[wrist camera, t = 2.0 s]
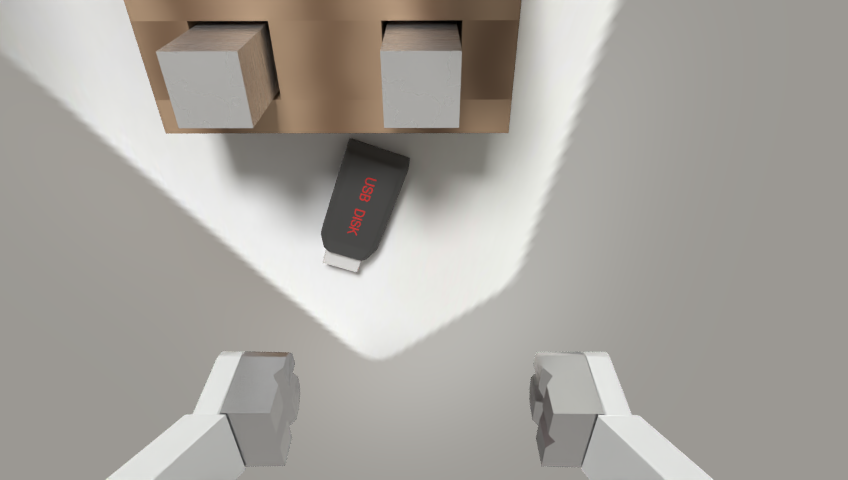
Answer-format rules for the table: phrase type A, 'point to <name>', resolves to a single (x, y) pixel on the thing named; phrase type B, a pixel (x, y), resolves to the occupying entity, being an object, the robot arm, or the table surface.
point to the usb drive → (361, 203)
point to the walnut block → (343, 58)
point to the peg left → (220, 74)
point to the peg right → (421, 74)
